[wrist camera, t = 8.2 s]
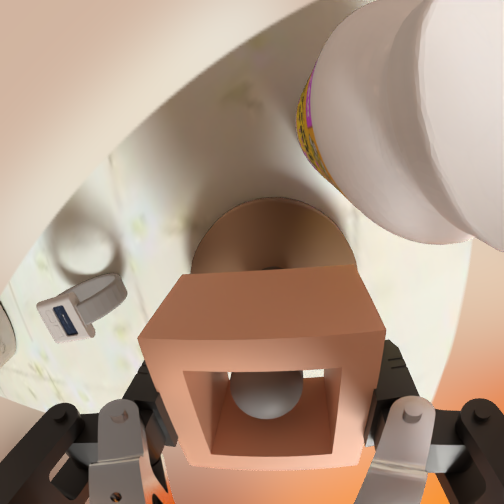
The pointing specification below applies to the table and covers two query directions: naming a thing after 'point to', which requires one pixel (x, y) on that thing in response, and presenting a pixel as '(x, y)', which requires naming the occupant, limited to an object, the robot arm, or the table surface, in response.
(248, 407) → the post stand
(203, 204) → the table surface
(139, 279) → the table surface
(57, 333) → the wristwatch
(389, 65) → the supplement bottle
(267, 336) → the pink hollow square block
